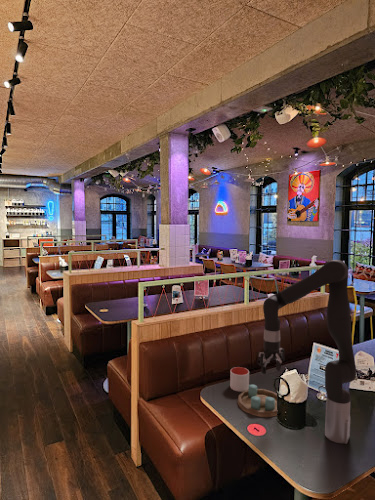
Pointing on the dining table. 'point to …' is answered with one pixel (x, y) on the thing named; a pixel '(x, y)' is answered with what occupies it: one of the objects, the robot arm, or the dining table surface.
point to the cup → (239, 379)
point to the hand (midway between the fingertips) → (271, 371)
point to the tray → (245, 403)
